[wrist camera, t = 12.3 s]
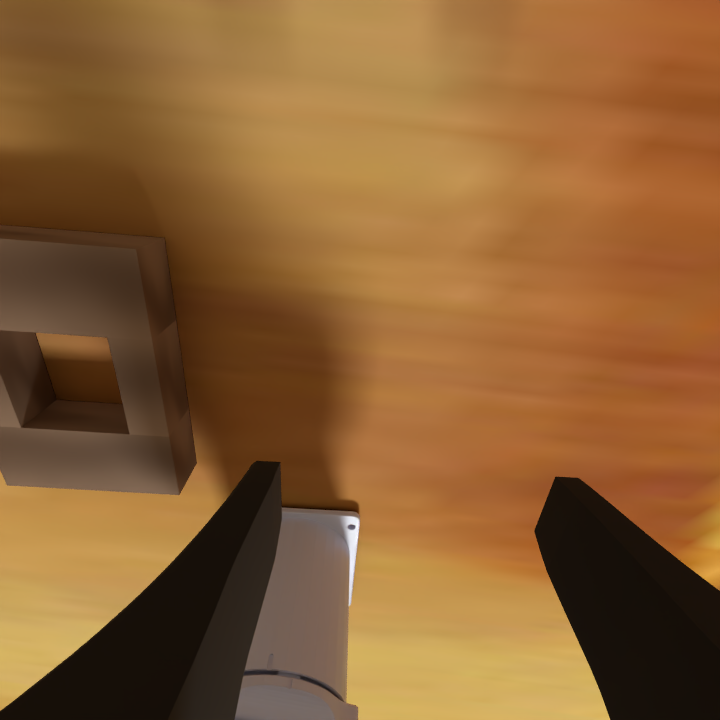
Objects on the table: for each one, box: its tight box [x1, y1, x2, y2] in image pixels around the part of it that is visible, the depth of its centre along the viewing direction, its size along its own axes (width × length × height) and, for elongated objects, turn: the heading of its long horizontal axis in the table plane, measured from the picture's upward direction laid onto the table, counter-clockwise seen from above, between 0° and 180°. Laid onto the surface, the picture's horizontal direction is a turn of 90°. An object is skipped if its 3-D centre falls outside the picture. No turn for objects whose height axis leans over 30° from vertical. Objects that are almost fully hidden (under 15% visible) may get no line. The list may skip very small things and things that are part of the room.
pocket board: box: [0, 225, 197, 495], centre depth 19 cm, size 13×9×2 cm
